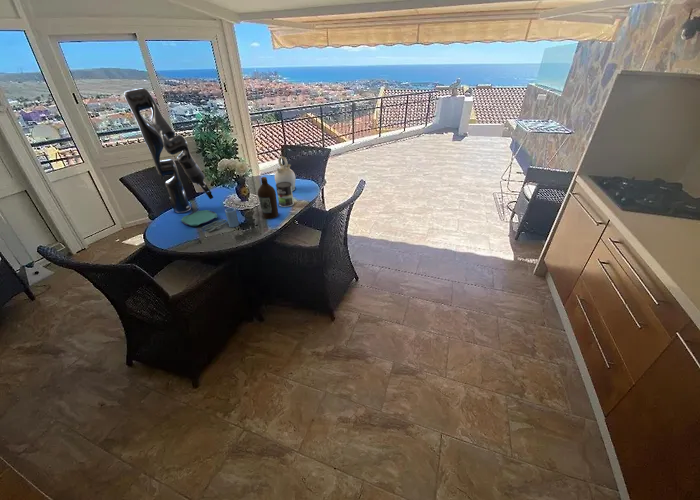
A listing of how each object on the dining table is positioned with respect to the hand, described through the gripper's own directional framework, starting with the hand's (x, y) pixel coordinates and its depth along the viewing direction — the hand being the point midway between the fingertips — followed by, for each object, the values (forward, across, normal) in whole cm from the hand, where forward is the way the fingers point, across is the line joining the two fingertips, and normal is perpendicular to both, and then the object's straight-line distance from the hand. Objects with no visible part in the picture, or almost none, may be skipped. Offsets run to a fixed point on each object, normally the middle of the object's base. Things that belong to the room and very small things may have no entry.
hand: (208, 194), depth 169 cm
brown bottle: (+23, +18, +23) cm, 37 cm away
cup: (+18, +13, +2) cm, 22 cm away
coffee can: (+30, +9, +39) cm, 50 cm away
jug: (+38, -14, +51) cm, 65 cm away
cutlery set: (+17, -3, -11) cm, 21 cm away
